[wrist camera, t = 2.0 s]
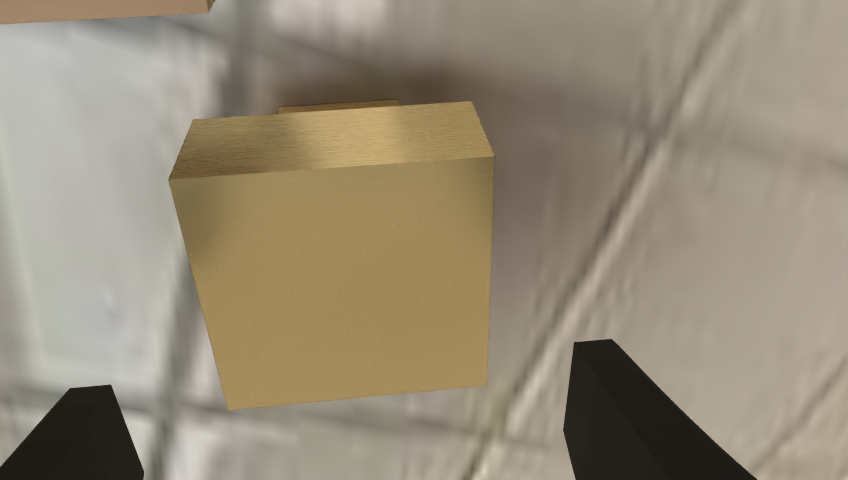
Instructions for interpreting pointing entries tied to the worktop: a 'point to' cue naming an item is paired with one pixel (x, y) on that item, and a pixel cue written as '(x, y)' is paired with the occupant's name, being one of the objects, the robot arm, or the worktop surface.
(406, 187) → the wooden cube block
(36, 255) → the worktop surface
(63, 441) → the robot arm
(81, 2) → the brown wooden block
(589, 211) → the worktop surface
